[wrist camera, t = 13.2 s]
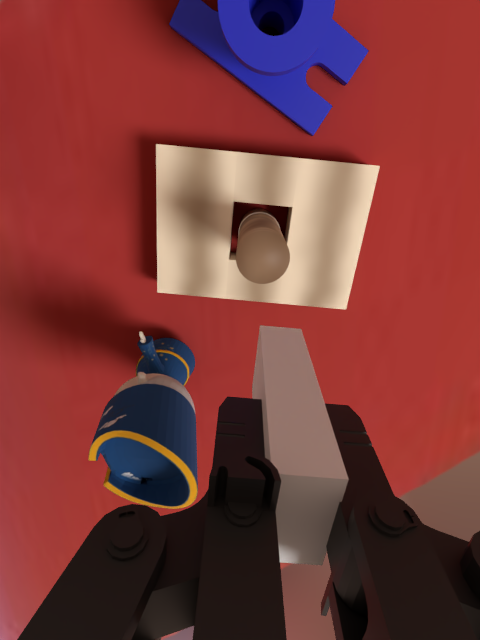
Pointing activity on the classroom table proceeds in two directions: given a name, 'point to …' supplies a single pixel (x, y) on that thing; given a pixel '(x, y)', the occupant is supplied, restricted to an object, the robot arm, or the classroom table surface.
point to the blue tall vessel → (152, 429)
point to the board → (270, 189)
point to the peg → (261, 248)
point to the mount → (274, 49)
